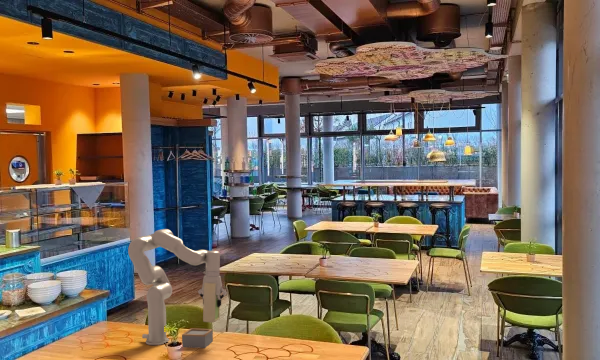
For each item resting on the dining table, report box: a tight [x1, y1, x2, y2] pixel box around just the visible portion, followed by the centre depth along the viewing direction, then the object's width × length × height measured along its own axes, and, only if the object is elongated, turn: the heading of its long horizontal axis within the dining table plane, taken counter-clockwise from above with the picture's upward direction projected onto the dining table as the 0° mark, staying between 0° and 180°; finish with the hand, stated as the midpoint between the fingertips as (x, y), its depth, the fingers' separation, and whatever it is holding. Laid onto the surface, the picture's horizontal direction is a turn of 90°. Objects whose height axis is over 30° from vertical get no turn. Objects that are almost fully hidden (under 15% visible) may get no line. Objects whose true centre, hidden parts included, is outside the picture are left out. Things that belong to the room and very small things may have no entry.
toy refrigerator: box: [202, 283, 221, 323], centre depth 282 cm, size 8×7×21 cm
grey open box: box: [181, 328, 214, 349], centre depth 283 cm, size 13×12×7 cm
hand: (212, 306), depth 282 cm, fingers closed on toy refrigerator, 7 cm apart
